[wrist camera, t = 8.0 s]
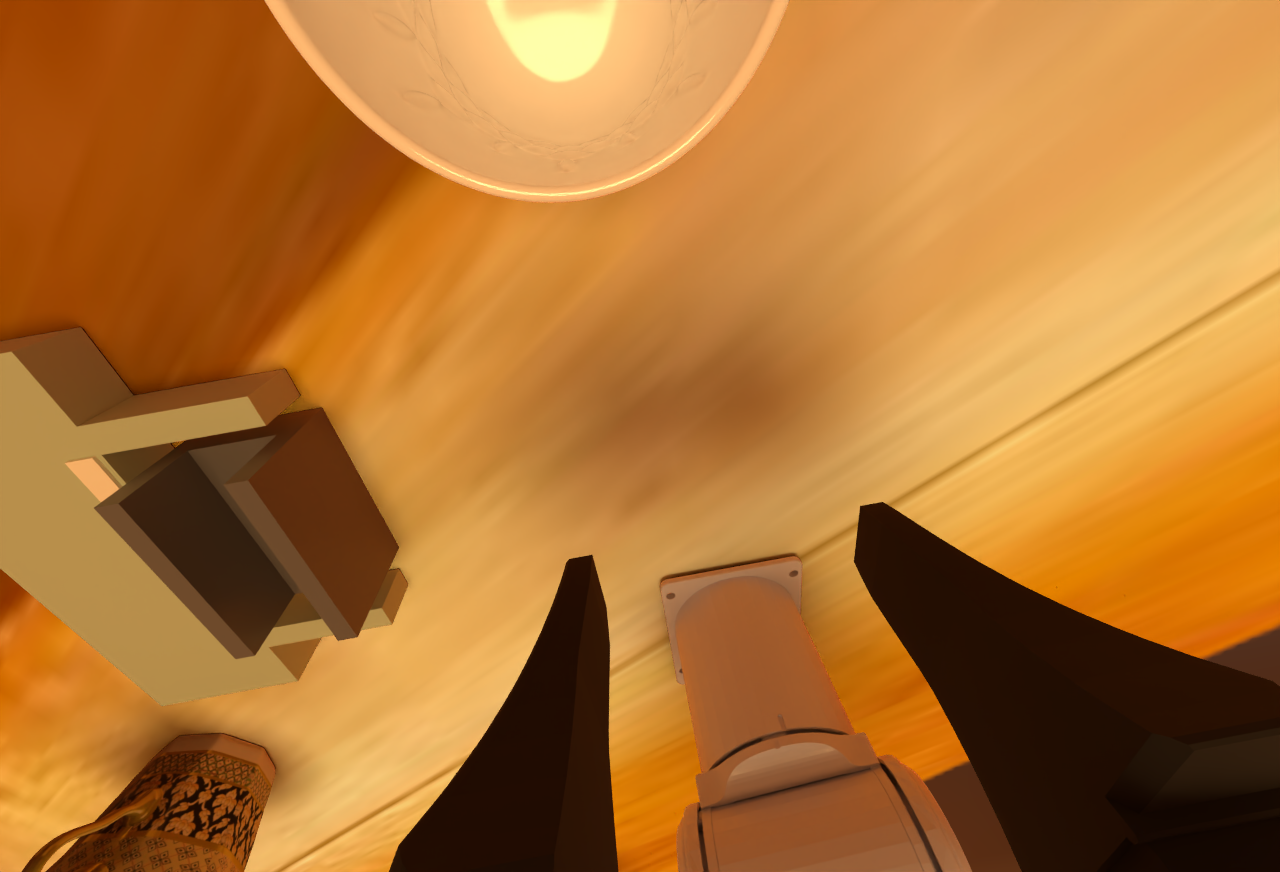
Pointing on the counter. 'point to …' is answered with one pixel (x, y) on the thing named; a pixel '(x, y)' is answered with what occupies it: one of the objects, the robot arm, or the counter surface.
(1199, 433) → the counter surface
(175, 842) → the ceramic cup
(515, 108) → the white cup
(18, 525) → the tan bracket
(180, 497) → the chute
